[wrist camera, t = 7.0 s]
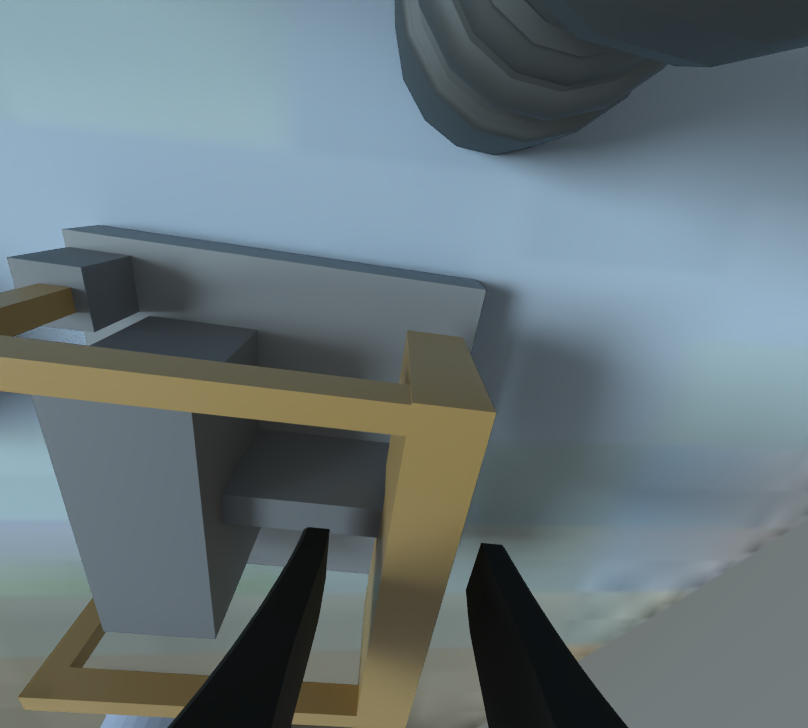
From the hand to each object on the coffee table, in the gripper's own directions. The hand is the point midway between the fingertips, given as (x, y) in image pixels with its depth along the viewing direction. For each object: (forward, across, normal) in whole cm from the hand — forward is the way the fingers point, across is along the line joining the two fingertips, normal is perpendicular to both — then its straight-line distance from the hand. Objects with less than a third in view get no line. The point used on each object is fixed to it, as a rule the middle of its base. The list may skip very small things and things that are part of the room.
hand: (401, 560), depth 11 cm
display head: (+6, +5, 0) cm, 8 cm away
